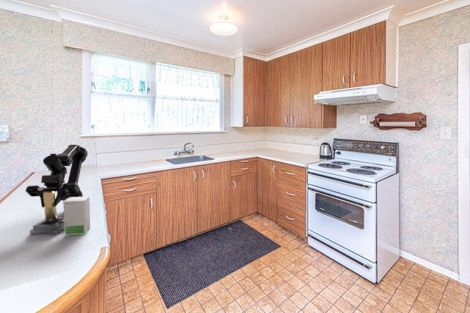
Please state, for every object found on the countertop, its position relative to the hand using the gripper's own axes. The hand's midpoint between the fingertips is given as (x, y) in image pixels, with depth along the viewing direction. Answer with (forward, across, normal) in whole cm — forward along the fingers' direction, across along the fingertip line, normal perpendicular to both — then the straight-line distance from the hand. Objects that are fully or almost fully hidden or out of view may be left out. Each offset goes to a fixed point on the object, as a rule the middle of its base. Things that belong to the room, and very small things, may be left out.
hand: (48, 206), depth 98 cm
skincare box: (+11, +12, +6) cm, 17 cm away
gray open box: (+7, 0, +9) cm, 12 cm away
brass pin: (+4, 0, +6) cm, 7 cm away
